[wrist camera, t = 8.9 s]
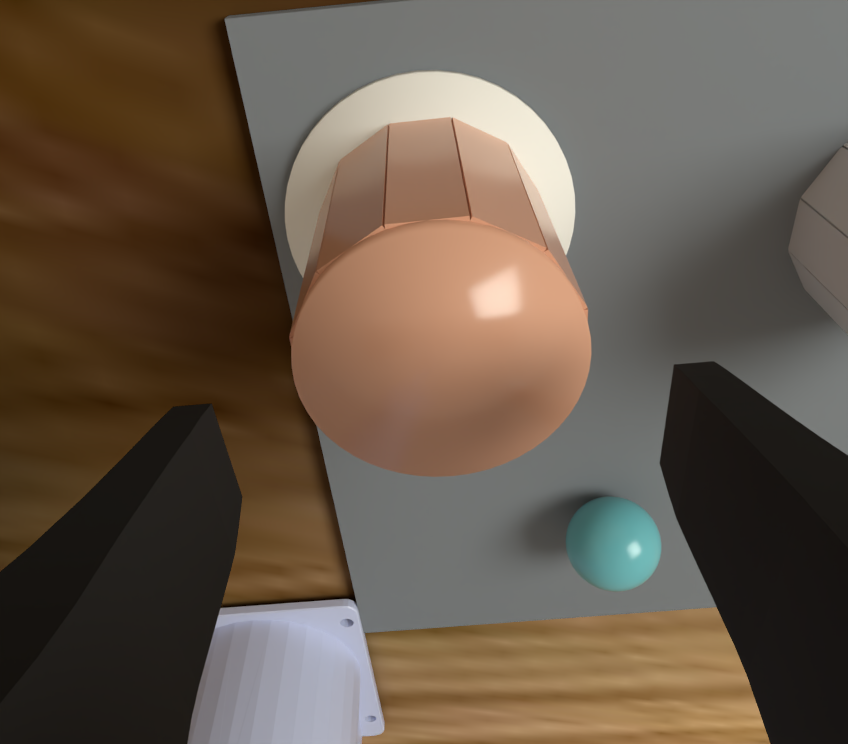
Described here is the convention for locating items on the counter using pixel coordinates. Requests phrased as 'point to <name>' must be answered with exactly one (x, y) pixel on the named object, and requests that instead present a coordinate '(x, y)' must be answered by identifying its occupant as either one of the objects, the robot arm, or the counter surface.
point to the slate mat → (574, 253)
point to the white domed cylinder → (825, 239)
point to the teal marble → (613, 544)
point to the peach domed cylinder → (437, 306)
